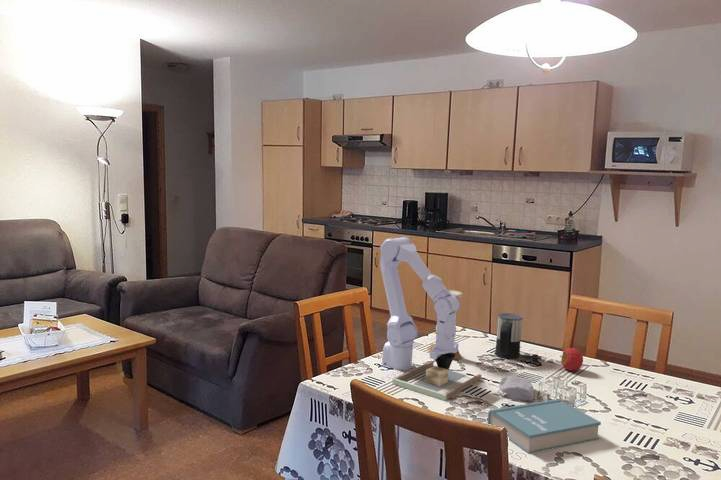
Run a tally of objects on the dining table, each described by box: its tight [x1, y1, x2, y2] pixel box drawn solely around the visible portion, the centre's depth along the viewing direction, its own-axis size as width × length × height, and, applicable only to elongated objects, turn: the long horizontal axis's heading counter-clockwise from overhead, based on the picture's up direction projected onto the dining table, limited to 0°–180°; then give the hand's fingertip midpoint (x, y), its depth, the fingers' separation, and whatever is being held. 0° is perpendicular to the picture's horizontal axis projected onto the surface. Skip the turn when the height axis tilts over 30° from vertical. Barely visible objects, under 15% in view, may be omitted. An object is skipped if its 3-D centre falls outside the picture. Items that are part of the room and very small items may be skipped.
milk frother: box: [494, 312, 542, 363], centre depth 204 cm, size 14×16×15 cm
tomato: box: [559, 347, 584, 372], centre depth 194 cm, size 8×8×8 cm
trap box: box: [392, 360, 482, 402], centre depth 174 cm, size 18×23×3 cm
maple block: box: [424, 365, 448, 387], centre depth 173 cm, size 5×5×4 cm
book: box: [487, 398, 602, 455], centre depth 146 cm, size 23×16×5 cm
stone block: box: [498, 376, 534, 402], centre depth 172 cm, size 12×5×10 cm
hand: (443, 375), depth 177 cm, fingers closed
